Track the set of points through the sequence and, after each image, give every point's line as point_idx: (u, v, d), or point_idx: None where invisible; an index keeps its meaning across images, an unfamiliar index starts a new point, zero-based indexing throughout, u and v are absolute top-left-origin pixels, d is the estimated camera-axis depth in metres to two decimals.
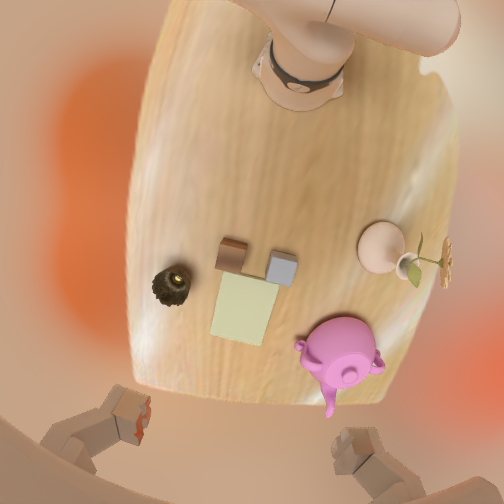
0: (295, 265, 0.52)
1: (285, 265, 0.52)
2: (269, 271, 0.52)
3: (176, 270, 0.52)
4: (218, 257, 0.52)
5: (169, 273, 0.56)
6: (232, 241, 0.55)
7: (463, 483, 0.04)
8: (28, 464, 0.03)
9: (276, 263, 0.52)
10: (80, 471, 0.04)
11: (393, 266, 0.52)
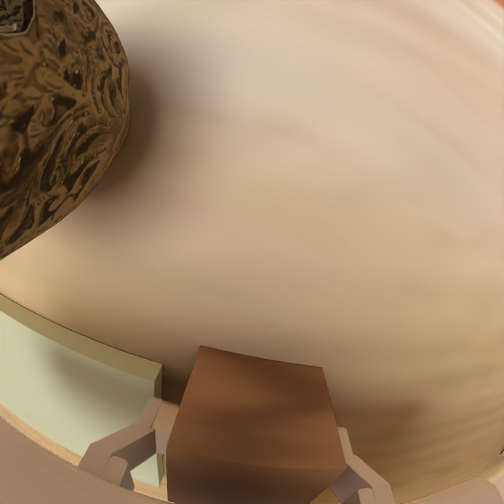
0: None
1: None
2: None
3: (49, 115, 0.03)
4: (251, 469, 0.06)
5: None
6: None
7: (463, 483, 0.04)
8: (28, 464, 0.03)
9: None
10: (80, 471, 0.04)
11: None
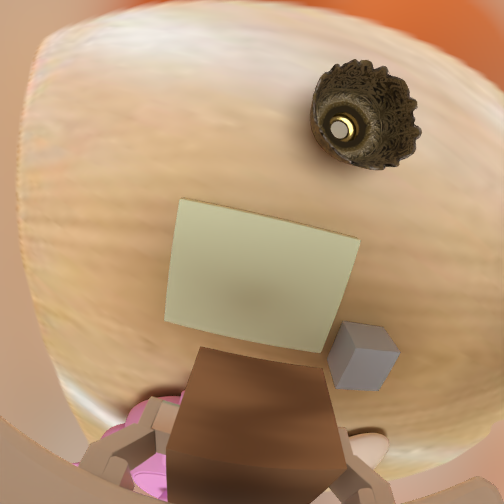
0: (375, 388, 0.23)
1: (379, 374, 0.22)
2: (374, 351, 0.22)
3: None
4: (251, 470, 0.06)
5: (358, 107, 0.19)
6: None
7: (463, 483, 0.04)
8: (28, 464, 0.03)
9: (386, 360, 0.22)
10: (80, 471, 0.04)
11: None
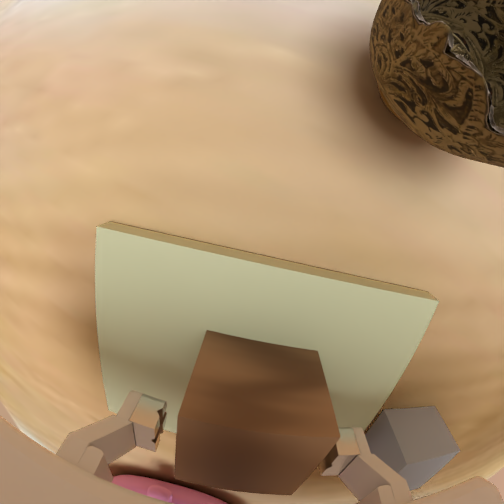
0: (415, 487, 0.11)
1: (426, 476, 0.10)
2: (429, 460, 0.10)
3: None
4: (254, 436, 0.07)
5: None
6: None
7: (463, 483, 0.04)
8: (28, 464, 0.03)
9: (440, 463, 0.10)
10: (80, 471, 0.04)
11: None
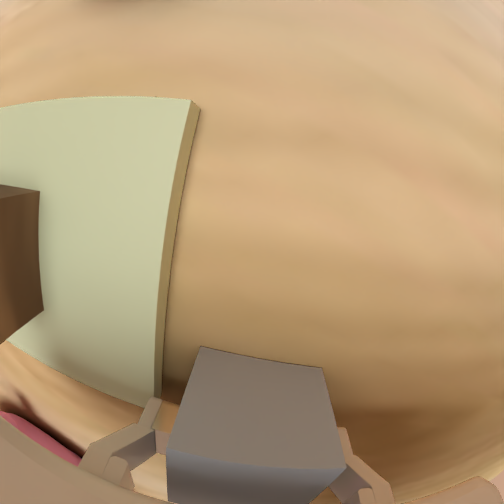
0: None
1: (282, 501, 0.06)
2: (241, 466, 0.06)
3: None
4: None
5: None
6: (17, 250, 0.07)
7: (463, 483, 0.04)
8: (28, 464, 0.03)
9: (298, 483, 0.06)
10: (80, 471, 0.04)
11: None
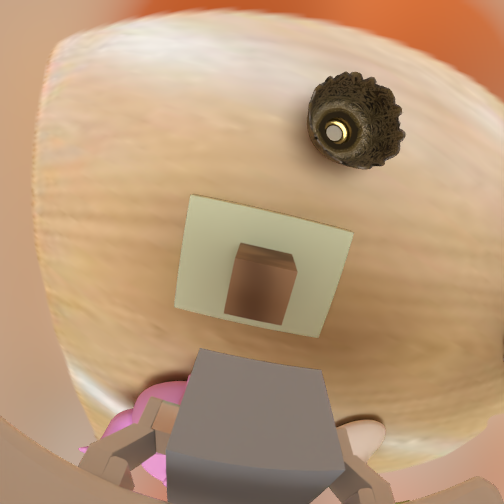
0: None
1: (281, 502, 0.06)
2: (241, 468, 0.06)
3: None
4: (263, 267, 0.21)
5: (350, 113, 0.21)
6: None
7: (463, 483, 0.04)
8: (28, 464, 0.03)
9: (297, 485, 0.06)
10: (80, 471, 0.04)
11: None
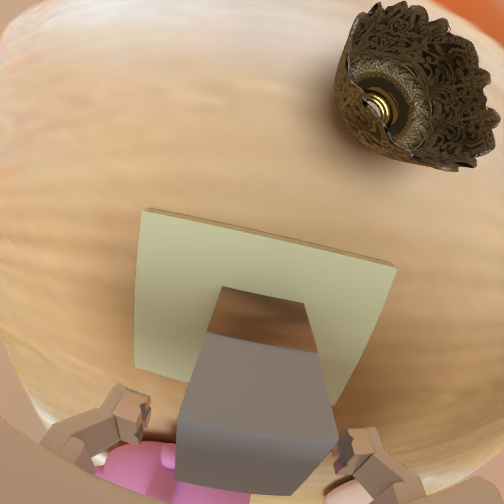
0: (279, 493, 0.08)
1: (281, 476, 0.08)
2: (244, 435, 0.07)
3: None
4: None
5: (397, 81, 0.12)
6: None
7: (463, 483, 0.04)
8: (28, 464, 0.03)
9: (295, 454, 0.07)
10: (80, 471, 0.04)
11: None
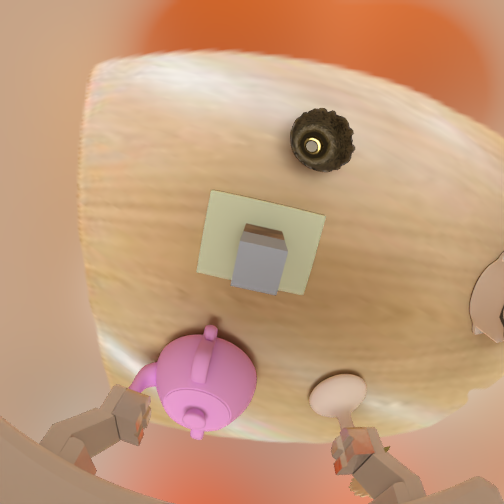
0: (271, 291, 0.29)
1: (271, 274, 0.29)
2: (259, 247, 0.28)
3: None
4: None
5: (322, 132, 0.33)
6: None
7: (463, 483, 0.04)
8: (28, 464, 0.03)
9: (275, 259, 0.28)
10: (80, 471, 0.04)
11: (321, 413, 0.44)
